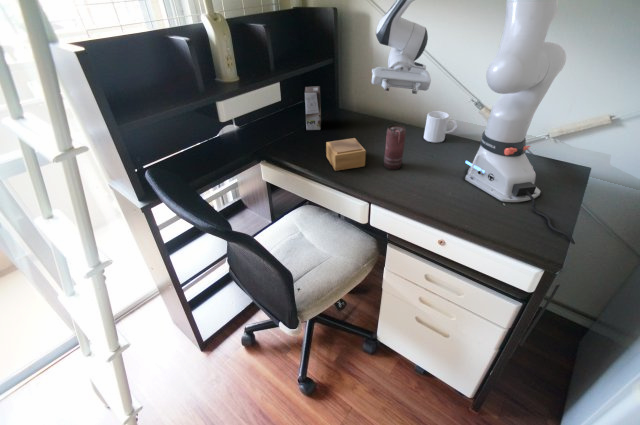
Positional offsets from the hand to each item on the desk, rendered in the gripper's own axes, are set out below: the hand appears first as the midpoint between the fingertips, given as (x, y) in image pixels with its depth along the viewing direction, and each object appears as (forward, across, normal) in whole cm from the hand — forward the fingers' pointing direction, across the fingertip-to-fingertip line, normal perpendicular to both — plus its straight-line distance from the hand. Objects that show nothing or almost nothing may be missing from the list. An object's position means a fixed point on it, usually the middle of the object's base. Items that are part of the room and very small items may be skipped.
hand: (401, 90), depth 110 cm
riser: (+14, -16, +22) cm, 30 cm away
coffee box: (-16, -31, +30) cm, 46 cm away
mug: (-7, +20, +23) cm, 31 cm away
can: (+16, +1, +20) cm, 26 cm away
